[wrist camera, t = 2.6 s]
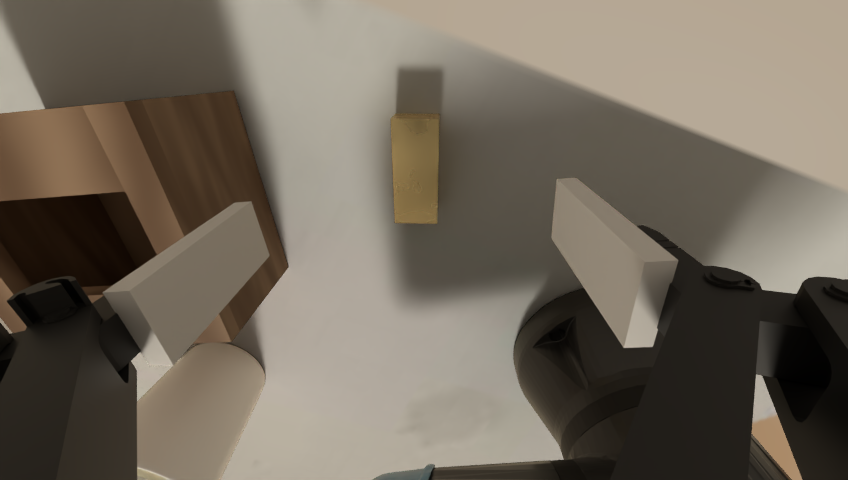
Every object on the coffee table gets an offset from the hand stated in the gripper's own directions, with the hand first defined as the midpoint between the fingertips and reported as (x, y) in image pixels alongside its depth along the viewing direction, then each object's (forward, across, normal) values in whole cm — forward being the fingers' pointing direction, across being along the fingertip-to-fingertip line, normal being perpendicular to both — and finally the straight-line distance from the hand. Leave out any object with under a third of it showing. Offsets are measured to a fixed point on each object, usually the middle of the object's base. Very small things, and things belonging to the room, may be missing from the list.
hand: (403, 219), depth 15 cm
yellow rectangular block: (+11, 0, 0) cm, 11 cm away
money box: (+11, +19, +2) cm, 22 cm away
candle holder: (+11, +22, +20) cm, 32 cm away
